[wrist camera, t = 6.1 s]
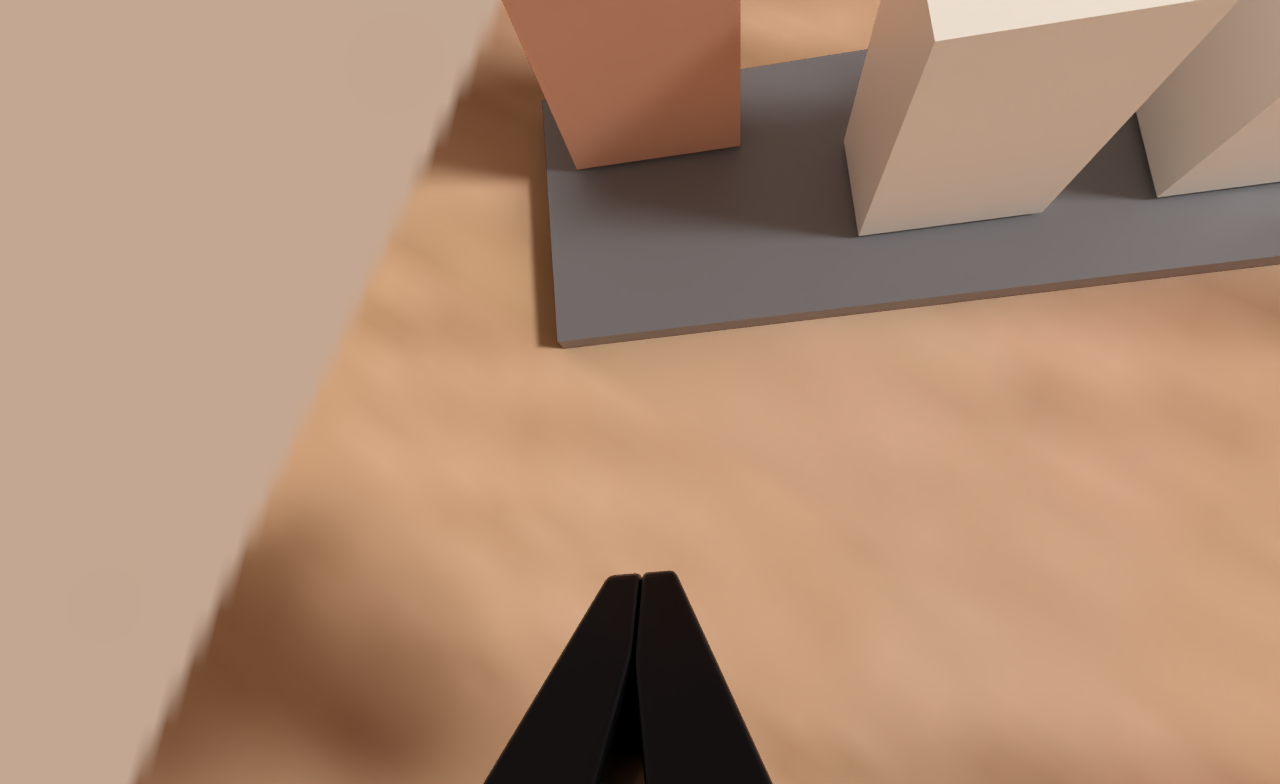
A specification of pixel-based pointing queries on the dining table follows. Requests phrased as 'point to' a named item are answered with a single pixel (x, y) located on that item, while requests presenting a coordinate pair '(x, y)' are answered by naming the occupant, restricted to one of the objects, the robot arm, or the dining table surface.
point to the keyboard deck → (850, 226)
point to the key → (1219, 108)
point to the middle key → (1001, 100)
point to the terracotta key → (635, 74)
